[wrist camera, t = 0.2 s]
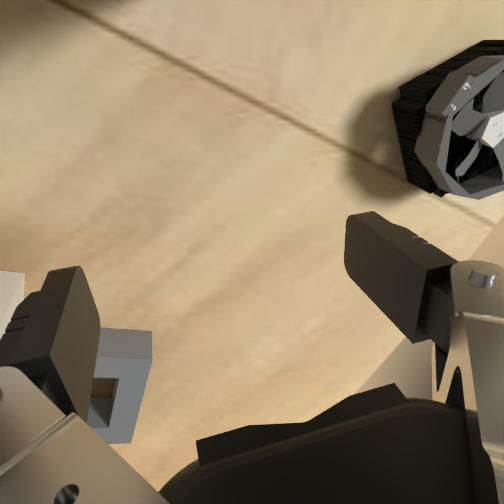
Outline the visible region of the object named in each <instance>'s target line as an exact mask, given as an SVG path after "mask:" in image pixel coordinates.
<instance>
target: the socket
mask: <svg viewBox="0 0 504 504" xmlns="http://www.w3.org/2000/svg"><path fill="white" fill-rule="evenodd" d="M151 362H152V332H151V331H137V330H122V329H108V328H100V338H99V344H98V351H97V358H96V365H95V371H94V378H115V383H114V388H113V393H112V397H91V398H90V405H89V412H88V419H87V425H89V426H90V427H91V428H92V429H93V430H94V431H95V432H96V433H97V434H98V435H99V436H100V437H101V438H102V439H103V440H104V441H105V442H106V443H107V444H119V443H131V440H132V436H133V433H134V429H135V425H136V421H137V417H138V413H139V409H140V405H141V401H142V397H143V394H144V390H145V386H146V382H147V378H148V374H149V370H150V366H151Z"/></svg>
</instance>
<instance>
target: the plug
mask: <svg viewBox="0 0 504 504" xmlns="http://www.w3.org/2000/svg"><path fill="white" fill-rule="evenodd" d="M24 286H25V273H18V272H9V271H0V339H1V337H2V335H3V334H4V333H5V329H6V327H7V325H8V323H9V322H11V320H10V319H11V317H12V315H13V313H14V311H15V309H16V307H17V306H18V305H19V304H20V303H21V302H22V301H23V300H24Z"/></svg>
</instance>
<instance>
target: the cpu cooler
mask: <svg viewBox="0 0 504 504" xmlns="http://www.w3.org/2000/svg"><path fill="white" fill-rule="evenodd" d="M399 89H400V92H401V96H402V98H400V99H399V100H397V101H396V102H394V103H392V105H393V106H392V108H394V109H392V110H394V111H393V114H394V115H395V116H394V119H395V122H396V123H395V124H396V128H397V134H398V139H400V140H399V142H400V143H399V144H401V145H400V147H401V148H402V149H401V151H402V154H403V156H402V158H403V161H404V166H406V167H405V170H406V173H407V174H406V176H407V179H408V180H409V181H408V182H410V183H412V184H414V185H416V186H417V187H419V188H421V189H423V190H425V191H426V192H428V193H434V194H436V195H438V196H439V197H442V196H445V194H446V193H451V194H453V195H458V196H463V197H468V198H473V199H478V200H479V199H482V198H485V197H487V196H490V195H492V194H495V193H498V192H500V191H503V190H504V40H484V41H482V42H480V43H479V44H477V45H475V46H473V47H470V48H468V49H467V50H466V51H463V52H461V53H459V54H458V55H456V56H454V57H452V58H451V59H449V60H447V61H445V62H443V63H441V65H438V67H437V66H436V67H435V68H432V69H431V70H429V71H427V72H426V73H424V74H422V75H420V76H418V77H416V78H415V79H413V80H412V81H410V82H408V83H407V84H404V85H403V86H401V87H399ZM444 193H445V194H444Z"/></svg>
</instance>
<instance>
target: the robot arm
mask: <svg viewBox="0 0 504 504" xmlns="http://www.w3.org/2000/svg"><path fill="white" fill-rule="evenodd" d="M344 264H345V268H346V271H347V273H348V275H349V277H350V278H351V279H352V280H353V281H354V282H355V283H356V284H357V285H358V286H359V287H360V288H361V289H362V291H363V292H364V293H365V294H366V295H367V296H368V297H369V298H370V299H371V300H372V301H373V302H374V303H375V304H376V305H377V306H378V307H379V308H380V310H381V311H382V312H383V313H384V314H385V315H386V316H387V317H388V318H389V319H390V320H391V321H392V322H393V323H394V324H395V325H396V326H397V327H398V329H399V330H400V331H401V332H402V333H403V334H404V335H405V336H406V337H407V338H408V339H409V340H410V341H411V342H412V343H413V344H414V343H417V342H421V341H425V340H428V339H431V340H432V341H433V342H434V344H433V349H432V387H433V400H427V399H419V398H405V396H404V395H403V394H402V392H401V391H400V390H399V389H398V387H397V386H396V385H395V383H393V384H389V385H385V386H382V387H379V388H375V389H372V390H368V391H365V392H362V393H358V394H355V395H351V396H349V397H347V398H345V399H344V400H342V401H340V402H339V403H337V404H336V405H334V406H332V407H331V408H329V409H327V410H326V411H324V412H322V413H321V414H319V415H318V416H316V417H314V418H313V419H311V420H309V421H307V422H303V423H286V424H266V425H248V426H245V427H241V428H238V429H234V430H231V431H228V432H224V433H221V434H217V435H214V436H210V437H207V438H204V439H200V440H197V441H196V445H197V452H198V459H197V460H196V461H194V462H192V463H191V464H189V465H187V466H186V467H185V468H184V469H182V470H181V471H180V472H178V473H177V474H176V475H175V476H174V477H173V478H172V479H170V480H169V481H168V482H167V483H166V484H165V485H164V486H163V487H162V489H161V490H160V491H159V492H157V491H156V490H155V489H154V488H153V487H152V486H151V485H150V484H149V483H148V482H147V481H146V480H145V479H144V478H143V477H142V476H141V475H140V474H138V473H137V472H136V471H135V470H134V469H133V468H132V467H131V466H130V465H129V464H128V463H127V462H126V461H125V460H124V459H123V458H122V457H121V456H120V455H119V454H118V453H117V452H116V451H115V450H113V449H112V448H111V447H110V446H109V445H108V444H107V443H106V442H105V441H104V440H103V439H102V438H101V437H100V436H99V435H98V434H97V433H96V432H95V431H94V430H93V429H92V428H91V427H90V426H89V425H87V419H88V412H89V405H90V398H91V392H92V385H93V378H94V371H95V365H96V358H97V351H98V344H99V338H100V319H99V314H98V311H97V308H96V305H95V302H94V299H93V296H92V294H91V291H90V288H89V285H88V282H87V280H86V277H85V274H84V272H83V269H82V268H81V267H80V266H73V267H68V268H63V269H57V270H52V271H49V272H48V274H47V277H46V279H45V281H44V284H43V286H42V288H41V291H37V292H32V293H31V294H29V295H28V296H27V297H26V298H25V299H24V300H23V301H22V302H21V303H20V304H19V305H18V306H17V307H16V309H15V311H14V313H13V315H12V317H11V319H10V320H11V322H9V323H8V325H7V327H6V329H5V333H4V334H3V335H2V337H1V339H0V504H504V268H503V267H501V266H498V265H496V264H492V263H488V262H484V261H475V260H467V261H460V262H458V261H457V260H455V259H454V258H452V257H450V256H449V255H447V254H446V253H444V252H443V251H441V250H440V249H438V248H437V247H435V246H433V245H432V244H428V242H427V241H426V240H424V239H423V238H421V237H418V235H416V234H415V233H413V232H412V231H410V230H409V229H407V228H405V227H402V226H399V225H396V224H393V223H391V222H389V221H388V220H386V219H385V218H383V217H382V216H380V215H379V214H377V213H376V212H374V211H370V212H365V213H360V214H354V215H350V216H349V217H348V218H347V221H346V233H345V251H344Z"/></svg>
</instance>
